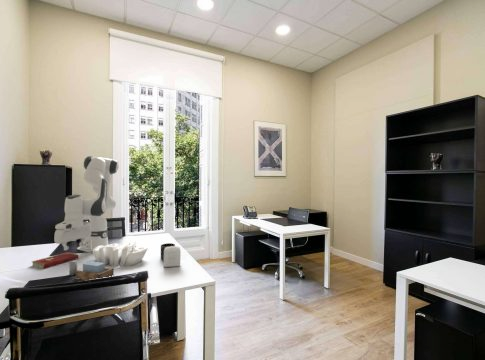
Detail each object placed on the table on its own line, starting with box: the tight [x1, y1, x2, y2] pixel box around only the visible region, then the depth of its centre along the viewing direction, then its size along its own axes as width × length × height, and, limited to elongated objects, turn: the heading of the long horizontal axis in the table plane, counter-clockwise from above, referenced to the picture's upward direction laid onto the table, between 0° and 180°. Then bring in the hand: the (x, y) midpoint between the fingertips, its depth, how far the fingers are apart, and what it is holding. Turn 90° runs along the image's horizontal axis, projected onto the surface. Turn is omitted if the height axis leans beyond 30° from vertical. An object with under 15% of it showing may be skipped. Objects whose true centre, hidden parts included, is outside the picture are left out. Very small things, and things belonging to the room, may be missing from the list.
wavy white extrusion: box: [92, 242, 149, 267], centre depth 164 cm, size 35×16×11 cm, turn 88°
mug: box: [160, 242, 176, 261], centre depth 171 cm, size 9×12×9 cm
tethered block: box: [68, 260, 106, 276], centre depth 139 cm, size 22×5×8 cm, turn 74°
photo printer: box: [163, 245, 181, 268], centre depth 157 cm, size 10×4×12 cm, turn 103°
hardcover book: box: [31, 252, 80, 270], centre depth 159 cm, size 12×21×4 cm, turn 156°
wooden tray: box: [75, 266, 115, 281], centre depth 137 cm, size 16×9×4 cm, turn 74°
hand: (74, 247), depth 142 cm, fingers open, 8 cm apart
